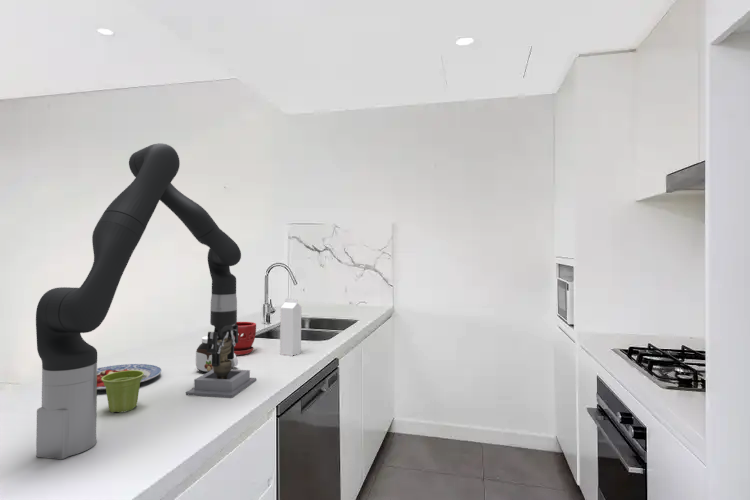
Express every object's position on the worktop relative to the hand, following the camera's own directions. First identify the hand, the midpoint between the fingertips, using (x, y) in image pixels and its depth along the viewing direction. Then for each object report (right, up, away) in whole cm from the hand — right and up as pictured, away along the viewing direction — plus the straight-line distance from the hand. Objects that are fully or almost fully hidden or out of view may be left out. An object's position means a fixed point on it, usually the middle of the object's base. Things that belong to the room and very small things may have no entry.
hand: (223, 362), depth 125 cm
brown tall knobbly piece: (0, -7, -1) cm, 7 cm away
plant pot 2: (-9, -8, +43) cm, 44 cm away
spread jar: (-9, -8, +18) cm, 22 cm away
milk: (+12, -8, +42) cm, 44 cm away
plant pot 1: (-20, -8, -17) cm, 27 cm away
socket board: (0, -8, 0) cm, 8 cm away
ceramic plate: (-36, -8, +5) cm, 37 cm away
